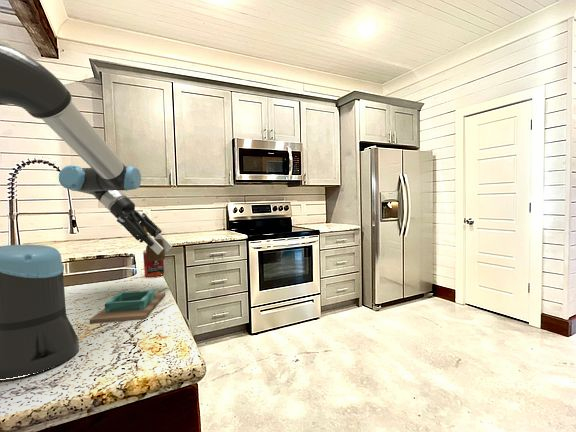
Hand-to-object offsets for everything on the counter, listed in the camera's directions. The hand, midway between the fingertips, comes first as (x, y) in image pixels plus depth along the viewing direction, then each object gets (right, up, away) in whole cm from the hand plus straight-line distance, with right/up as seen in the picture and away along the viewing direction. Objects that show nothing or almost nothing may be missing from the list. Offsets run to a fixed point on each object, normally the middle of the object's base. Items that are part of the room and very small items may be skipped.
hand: (165, 250), depth 107 cm
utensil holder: (-4, -4, +1) cm, 5 cm away
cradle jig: (-4, -16, -15) cm, 22 cm away
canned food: (-14, -14, +24) cm, 31 cm away
